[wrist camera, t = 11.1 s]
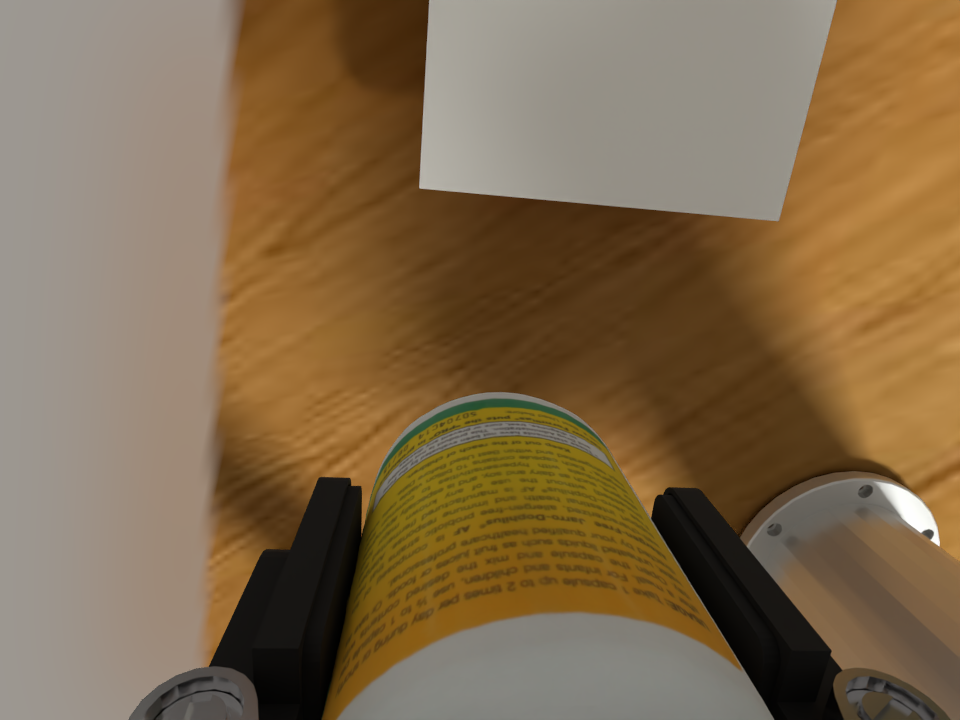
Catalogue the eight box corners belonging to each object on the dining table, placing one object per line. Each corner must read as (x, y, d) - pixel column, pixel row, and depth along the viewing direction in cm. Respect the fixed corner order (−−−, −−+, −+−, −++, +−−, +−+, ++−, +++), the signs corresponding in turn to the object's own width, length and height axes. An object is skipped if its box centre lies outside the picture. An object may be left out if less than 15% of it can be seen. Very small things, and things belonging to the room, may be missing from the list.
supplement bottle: (651, 534, 13) (1130, 1344, 4) (447, 632, 14) (466, 1555, 5) (550, 336, 12) (979, 961, 2) (321, 456, 12) (-44, 1359, 3)
